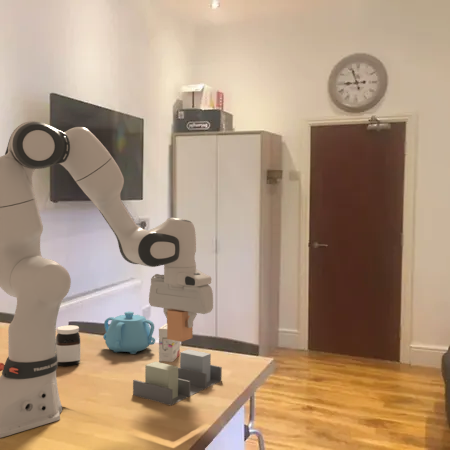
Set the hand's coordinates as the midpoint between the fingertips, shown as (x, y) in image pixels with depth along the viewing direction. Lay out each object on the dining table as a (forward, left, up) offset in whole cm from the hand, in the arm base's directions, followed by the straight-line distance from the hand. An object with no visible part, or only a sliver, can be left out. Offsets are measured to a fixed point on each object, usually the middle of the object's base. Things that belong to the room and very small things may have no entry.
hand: (179, 325), depth 151 cm
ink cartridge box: (+21, +21, -19) cm, 35 cm away
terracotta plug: (0, 0, -4) cm, 4 cm away
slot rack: (0, 0, -18) cm, 18 cm away
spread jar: (-1, +48, -19) cm, 51 cm away
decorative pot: (+23, +41, -19) cm, 50 cm away
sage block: (-8, 0, -17) cm, 19 cm away
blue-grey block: (+7, 0, -17) cm, 19 cm away
